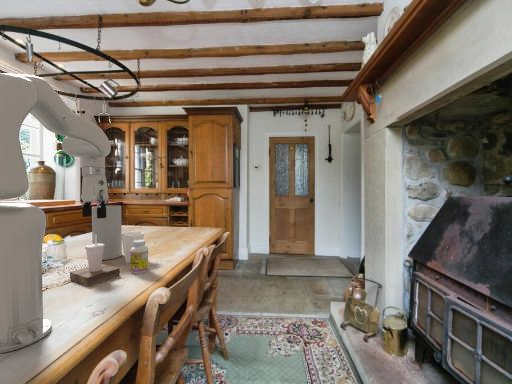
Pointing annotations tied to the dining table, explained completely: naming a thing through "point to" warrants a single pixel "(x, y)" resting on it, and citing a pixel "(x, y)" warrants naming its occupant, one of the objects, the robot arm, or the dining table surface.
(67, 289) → the dining table surface
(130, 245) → the foam cup
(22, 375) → the dining table surface
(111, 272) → the plinth
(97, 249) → the smoothie
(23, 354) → the dining table surface
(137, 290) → the dining table surface
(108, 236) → the cylinder vase
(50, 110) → the robot arm
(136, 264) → the supplement bottle
